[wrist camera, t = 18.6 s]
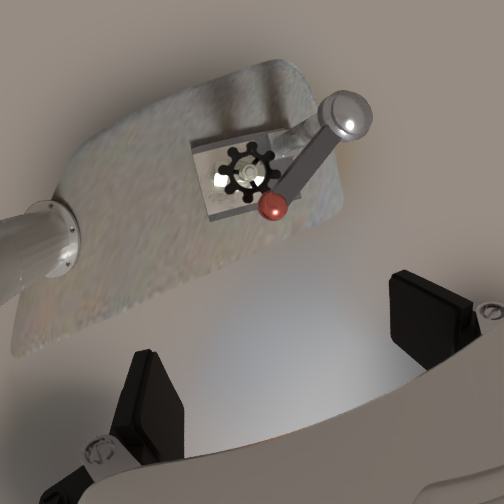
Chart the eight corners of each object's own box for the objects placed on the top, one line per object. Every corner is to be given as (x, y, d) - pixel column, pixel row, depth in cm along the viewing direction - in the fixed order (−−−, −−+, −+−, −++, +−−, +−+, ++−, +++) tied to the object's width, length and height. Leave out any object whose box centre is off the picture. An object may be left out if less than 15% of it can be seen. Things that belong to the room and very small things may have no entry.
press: (209, 221, 43) (218, 257, 21) (191, 149, 40) (181, 109, 18) (304, 196, 44) (393, 209, 23) (288, 128, 42) (365, 83, 20)
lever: (333, 87, 22) (345, 79, 20) (367, 120, 23) (381, 116, 21) (239, 199, 23) (243, 200, 21) (280, 232, 24) (288, 237, 22)
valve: (215, 151, 40) (220, 138, 28) (261, 155, 41) (283, 144, 29) (211, 197, 41) (215, 201, 29) (257, 200, 42) (279, 206, 31)
